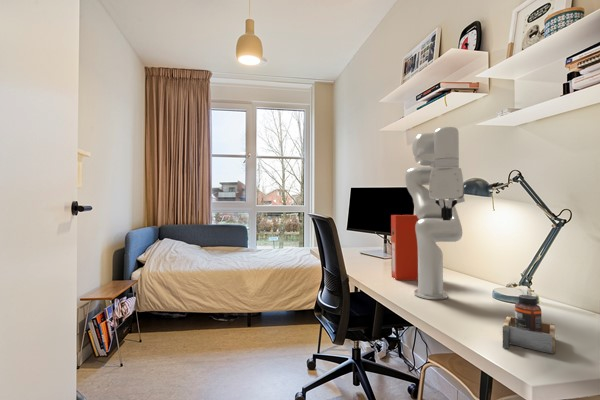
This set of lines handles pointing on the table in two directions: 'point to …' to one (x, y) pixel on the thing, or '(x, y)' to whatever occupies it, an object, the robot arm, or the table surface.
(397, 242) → the file binder
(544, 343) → the grey l-shaped block
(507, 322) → the caddy
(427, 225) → the robot arm
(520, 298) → the supplement bottle
